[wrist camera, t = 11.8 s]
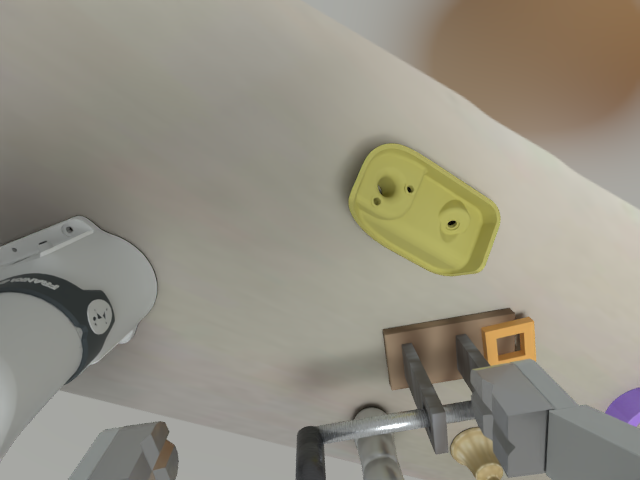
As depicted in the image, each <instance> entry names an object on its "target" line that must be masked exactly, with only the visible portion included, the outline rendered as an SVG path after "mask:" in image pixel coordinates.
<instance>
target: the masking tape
mask: <svg viewBox="0 0 640 480" xmlns="http://www.w3.org/2000/svg"><path fill="white" fill-rule="evenodd" d="M605 413H606V414H608V415H610V416H612V417H615V418H617V419H619V420H621V421H624V422H626V423H628V424H630V425H633V426H635V427H638V426H639V425H640V388H636V389H633V390H630V391H628V392H626V393H624V394H622V395H621V396H619V397H618V398H617V399H615V400H614V401H613V402H612V403H611V405H610V406H609V407H608V409H607V410H606V412H605Z"/></svg>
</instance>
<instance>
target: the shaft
mask: <svg viewBox="0 0 640 480" xmlns="http://www.w3.org/2000/svg"><path fill="white" fill-rule="evenodd" d="M442 406H443V408H444V410H445V412H446V424H448V423H454V422H460V421H466V420H472V419H475V416H474V412H473V408H472V400H471V401H465V402H459V403H453V404H447V405H442ZM430 426H431V425H430V417H429V414H428V412H427V410H426V408H422V409H416V410H410V411H404V412H398V413H392V414H386V415H380V416H374V417H368V418H362V419H356V420H350V421H343V422H337V423H331V424H325V425H319V426H307V427H304V428H302V429H301V430H300V431H299V432H298V434H297V453H296V480H326V475H325V458H324V444H326V443H332V442H338V441H344V440H351V439H357V438H363V437H369V436H375V435H381V434H387V433H393V432H399V431H405V430H412V429H418V428H424V427H430Z"/></svg>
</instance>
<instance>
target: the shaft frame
mask: <svg viewBox="0 0 640 480" xmlns="http://www.w3.org/2000/svg"><path fill="white" fill-rule="evenodd" d="M513 320H515V313H514V312H513V311H512V310H511V309H510V308H507V309H501V310H495V311H489V312H483V313H478V314H472V315H466V316H460V317H454V318H448V319H442V320H436V321H430V322H424V323H418V324H413V325H407V326H401V327H395V328H389V329H383V336H384V344H385V351H386V359H387V367H388V374H389V382H390V386H391V389H392V390H397V389H403V388H410V391H411V393H412V396H413V398H414V401H415V404H416V406H417V409H422V408H426V410H427V412H428V414H429V417H430V425H431V426H430V427H425V429H426V431H427V434H428V436H429V439H430V441H431V444H432V446H433V449H434V452H435V454H441V453H448V439H447V425H446V412H445V410H444V408H443V406H442V404H441V402H440V400H439V398H438V396H437V394H436V392H435V389H434V387H433V385H432V384H433V383H439V382H445V381H451V380H457V379H464V380H465V382H466V383H467V385H468V387H469V388H470V390H471V391H472V393H474V391H475V388H474V387H473V385H472V383H471V379H470V373H471V370H472V369H476V368H482V367H488V366H490V364H489V363H488V362H487V360H486V359H485V358H484V350H483V341H482V332H481V328H482V327H487V326H491V325H495V324H500V323H504V322H508V321H513ZM496 341H497V351H498V355H502V354H506V353H511V352H515V335H511V336H506V337H502V338H498V339H496Z"/></svg>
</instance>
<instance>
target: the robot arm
mask: <svg viewBox="0 0 640 480" xmlns="http://www.w3.org/2000/svg"><path fill="white" fill-rule="evenodd" d="M69 227H71V228H72V229H73V231H71V230H70V228H69ZM156 295H157V282H156V277H155V274H154V271H153V269H152V267H151V265H150V263H149V262H148V260H147V259H146V257H145V256H144V255H143V254H142V253H141V252H140V251H139V250H138V249H137V248H136V247H134V246H133V245H132V244H130V243H129V242H127V241H126V240H124V239H122V238H120V237H117V236H115V235H112V234H109V233H107V232H104V231H103V230H101V229H100V228H98V227H97V226H96V225H95V224H94V223H92V222H91V221H90V220H88V219H87V218H85V217H83V216H75V217H72V218H70V219H67V220H65V221H62V222H60V223H57V224H55V225H52V226H50V227H47V228H45V229H42V230H40V231H37V232H35V233H32V234H30V235H28V236H25V237H23V238H20V239H18V240H15V241H13V242H10V243H8V244H5V245H3V246H0V462H1V460H2V459H3V457H4V456H5V454H6V453H7V451H8V450H9V448H10V447H11V445H12V444H13V443H14V441H15V440H16V438H17V437H18V436H19V435H20V433H21V432H22V431H23V430H24V428H25V427H26V426H27V425H28V424H29V423H30V422H31V420H32V419H33V418H34V417H35V416H36V415H37V414H38V412H39V411H40V410H41V409H42V408H43V407H44V406H45V405H46V403H47V402H48V401H49V400H50V399H51V398H52V397H53V396H54V395H55V394H56V393H57V391H58V390H59V389H60V388H61V387H62V386H63V385H65V384H67V383H69V382H71V381H72V380H73V379H75V378H76V377H77V376H78V375H79V374H81V373H82V372H83V371H84V370H85V369H86V368H87V367H88V366H89V365H90V364H95V363H97V362H98V361H99V360H101V359H102V358H103V357H104V356H105V355H106V354H107V353H108V352H109V351H110V350H112V349H113V348H114V347H115V346H116V345H117V344H122V343H127V342H128V341H129V340H130V339H132V338H133V336H134V334H135V332H136V328H137V325H138V323H139V322H140V321H141V320H142V319H143V318H144V317H145V316H146V315H147V314H148V313H149V311H150V310H151V308H152V307H153V305H154V302H155V300H156ZM470 379H471V383H472V385H473V387H474V388H475V391H474V393H473V394H472V395H471V400H472V408H473V412H474V416H475V419H476V421H477V424H478V426H479V428H480V430H481V431H482V433H483V435H484V436H485V437H487V438H489V439H490V440H492V441H493V452H494V454H495V456H496V458H497V459H498V461H499V463H500V464H501V466H502V468H503V469H504V471H505V473H506V475H507V476H508V478H510V477H518V476H525V475H533V474H541V473H546V475H547V476H548V477H549V478H551V479H552V480H640V429H639V428H637V427H635V426H633V425H630V424H628V423H626V422H624V421H621V420H619V419H617V418H615V417H612V416H610V415H608V414H606V413H603V412H601V411H599V410H597V409H594V408H592V407H590V406H588V405H580V406H579V405H578V404H577V403H576V402H575V401H574V400H573V399H572V398H571V397H570V396H569V395H568V394H567V393H566V392H565V391H564V390H563V389H562V388H561V387H560V386H559V385H558V384H557V383H556V382H555V381H554V380H553V379H552V378H551V377H550V376H549V375H548V374H547V373H546V372H545V371H544V370H543V369H542V368H541V367H540V366H539V365H538V364H537V363H536V362H535V361H534V360H532V359H525V360H520V361H514V362H510V363H505V364H499V365H493V366H488V367H482V368H476V369H472V370H471V373H470ZM168 434H169V430H168V428H167V426H166V424H165V422H161V421H160V422H153V423H144V424H137V425H130V426H124V427H119V428H112V429H106V430H104V431H103V432H101V433H100V434H99V435H98V437H97V438H96V440H95V441H94V442H93V444H92V445H91V447H90V448H89V450H88V451H87V453H86V454H85V456H84V457H83V458H82V460H81V461H80V463H79V464H78V466H77V467H76V469H75V470H74V472H73V473H72V474H71V476H70V477H69V479H68V480H175V479H176V476H177V470H178V462H179V461H178V453H177V450H176V447H175V445H174V444H173V443H171V442H170V441H168V440H167V436H168Z"/></svg>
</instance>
